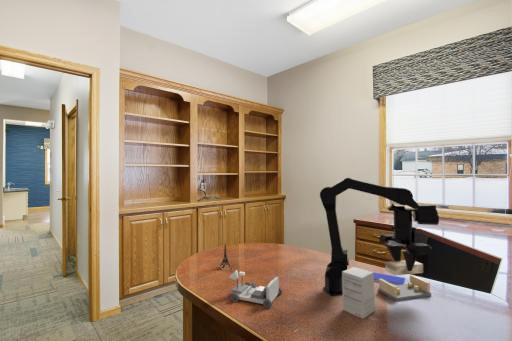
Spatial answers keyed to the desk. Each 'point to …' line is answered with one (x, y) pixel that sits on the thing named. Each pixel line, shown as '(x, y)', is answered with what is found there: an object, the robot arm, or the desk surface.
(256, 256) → the desk surface
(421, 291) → the peg base
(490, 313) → the desk surface
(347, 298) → the supplement box
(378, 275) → the hard drive
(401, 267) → the board
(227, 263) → the eiffel tower figurine
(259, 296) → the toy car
